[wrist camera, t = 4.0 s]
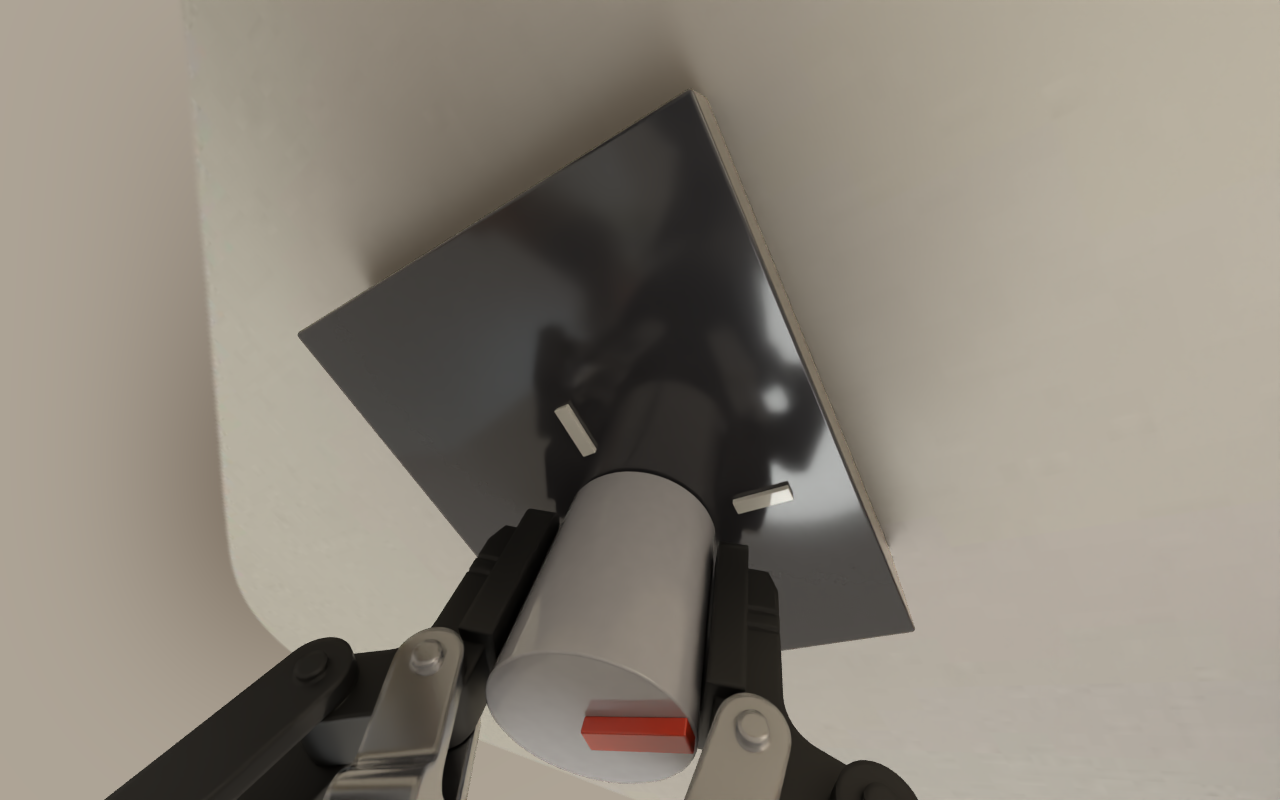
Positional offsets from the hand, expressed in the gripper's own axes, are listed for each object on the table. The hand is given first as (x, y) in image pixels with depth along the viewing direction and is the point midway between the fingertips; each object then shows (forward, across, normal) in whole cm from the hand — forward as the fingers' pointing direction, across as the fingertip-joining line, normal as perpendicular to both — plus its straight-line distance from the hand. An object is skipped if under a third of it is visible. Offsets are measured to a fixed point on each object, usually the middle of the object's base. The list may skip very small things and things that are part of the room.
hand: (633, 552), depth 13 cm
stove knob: (+1, 0, 0) cm, 1 cm away
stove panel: (+4, +1, -1) cm, 4 cm away
